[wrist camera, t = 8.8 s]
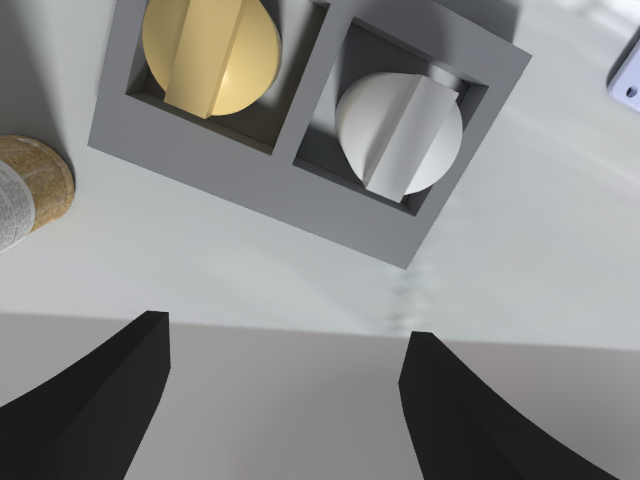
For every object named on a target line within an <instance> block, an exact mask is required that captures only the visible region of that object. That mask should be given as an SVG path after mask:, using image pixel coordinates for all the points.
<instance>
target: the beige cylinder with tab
mask: <svg viewBox="0 0 640 480" xmlns="http://www.w3.org/2000/svg"><path fill="white" fill-rule="evenodd" d="M142 38H143V47H144V52H145V56H146V59H147V62H148V65H149V67H150V69H151V72H152V74H153V75H154V77H155V79H156V80H157V82H158V83H159V84H160V86H161V87H162V88H163V90H164V91H165V92H166V94H165V98H164V102H166V103H168V104H170V105H173V106H175V107H177V108H180V109H182V110H185V111H187V112H189V113H192V114H194V115H196V116H199V117H201V118H203V119H206V118H208V117H210V116H211V115H226V114H231V113H234V112H237V111H240V110H242V109H244V108H246V107H247V106H249V105H250V104H252V103H253V102H254V101H255V100H257V99H258V98H259V97H260V96H262V95H263V94H264V93H265V92H266V91H267V90H268V89H269V88H270V87H271V86H272V85H273V83H274V82H275V80H276V78H277V76H278V74H279V71H280V68H281V63H282V43H281V38H280V35H279V32H278V30H277V27H276V25H275V23H274V22H273V20H272V18H271V17H270V16H269V14H268V13H267V11H266V10H265V8H264V7H263V5H262V4H261V2H260V1H259V0H150V2H149V4H148V7H147V9H146V13H145V16H144V21H143V32H142Z"/></svg>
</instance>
